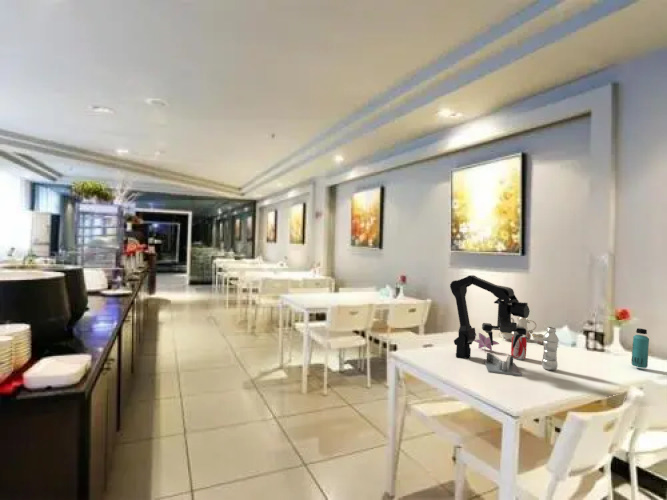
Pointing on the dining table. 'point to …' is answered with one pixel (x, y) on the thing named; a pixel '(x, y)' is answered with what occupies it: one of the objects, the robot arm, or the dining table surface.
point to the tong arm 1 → (494, 360)
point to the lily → (485, 342)
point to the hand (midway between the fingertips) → (502, 346)
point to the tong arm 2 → (509, 361)
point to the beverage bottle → (640, 349)
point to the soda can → (519, 348)
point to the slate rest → (503, 368)
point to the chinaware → (523, 323)
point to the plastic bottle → (550, 349)
